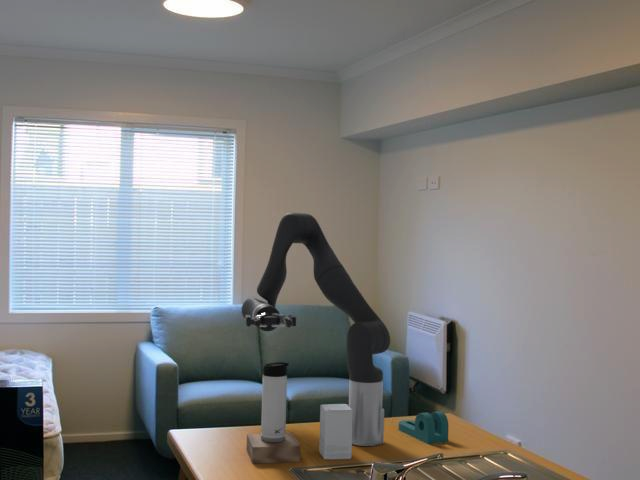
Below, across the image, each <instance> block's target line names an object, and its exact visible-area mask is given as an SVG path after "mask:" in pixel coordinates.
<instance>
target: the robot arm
mask: <svg viewBox="0 0 640 480" xmlns="http://www.w3.org/2000/svg"><path fill="white" fill-rule="evenodd" d="M278 223H279V224H278V225H277V230H276V233H275V237H274V240H273V244H272V247H271V252H270V255H269V259H268V262H267V265H266V268H265V269H264V272H263V274H262V276H261V278H260V280H259V283H258V285H257V287H256V294H257V295H259V297H261V298H262V299H263V300H262V299H258V298H255V297H248V298H246V299H245V300H244V302H243V303H242V306H241V314H242V315H241V316H242V317H243V318H244V319H245V321H244V322H245V323H244V324H245V326H246V327H250V326H252V327H254V328H255V327H256V328H258V329H260V330H261V331H262V332H273V331H274V330H276V329H277V328H285V327H287V328H292V327H296V326H297V316H294V315H292V314H288V315H287V316H286V314H281V313H280V311H279V310H278V309H277V308H276V305H277V300H278V297H279V295H280V292H281V290H282V288H283V286H284V284H285V282H286V279H287V256H288V252H289V251H290V249H291V246H292V245H293V244H302V245H304V246H305V248H306V249H307V251H309V253H310V255H311V257H312V261H313V278H314V280H315V283H316V285H317V286H318V289H319V290H320V291H321V293H322V295H323V296H324V297H325V299H327V301H328V302H330V303H331V304H333V306H335V307H336V308H337V309H339V310H340V311H342V312H343V313H345V315H347V316H348V317H349V318H350V319H351V320H352V322H353V324H351V326H349V329H348V330H347V334H346V367H347V370H348V373H349V375H348V376H349V382H348V383H349V385H348V406H349V407H350V408H351V409H352V410H353V413H352V445H355V446H358V447H359V446H360V447H361V446H362V447H374V446H378V445H383V444H384V443H385V441H384V439H385V409H384V408H383V392H384V391H383V390H384V389H383V388H384V387H383V385H384V384H383V382H384V372H383V369H381V368H379V367H378V366H375V365H374V359H373V355H378V354H381V353H385V352H386V351H387V350H388V349H389V347H390V345H391V336H390V332H389V330H388V327H387V326H386V325H385V322H383V321H382V319H381V317H379V316H378V315H377V313H376V312H375V311H374V310H373V309H372V307H371V306H370V305H369V303H368V302H367V301H366V299H365V297H364V296H363V294H362V292H360V290H359V289H358V288H357V286H356V285H355V283H354V281H353V280H352V278H351V276H350V274H349V273H348V271H347V270H346V268H345V266H343V264H342V263H341V261H340V260H339V258H338V257H337V255H336V254H335V251H334V250H333V248H332V247H331V245H330V244H329V241H328V240H327V238H326V236H325V234H324V232H323V230H322V228H321V226H320V223H319V222H318V220H317V219H316V218H315V217H314V216H313V215H312V214H309V213H302V212H287V213H286V214H284V215H283V216H282V217H281V219H280V221H279V222H278ZM264 300H265V301H264ZM266 301H267V302H266Z"/></svg>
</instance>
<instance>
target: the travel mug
mask: <svg viewBox="0 0 640 480" xmlns="http://www.w3.org/2000/svg"><path fill="white" fill-rule="evenodd" d="M288 366H290V364H289V361H280V362H270V363H265V364H264V365H262V390H261V391H262V392H261V422H260V425H261V426H260V427H261V428H260V434H261V440H262V441H264V442H270V443H277V442H282V441H284V440H285V433H286V428H287V427H286V425H287V424H286V423H287V420H286V419H287V394H288V393H287V391H288V372H287V371H288Z"/></svg>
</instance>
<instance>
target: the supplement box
mask: <svg viewBox="0 0 640 480" xmlns="http://www.w3.org/2000/svg"><path fill="white" fill-rule="evenodd" d="M319 407H320V412H319V444H318V445H319V446H318V448H319V449H318V451H319V453H320V455H321V457H322V458H323V460H351V459H352V450H353V449H352V448H353V444H352V413H353V410H352V409H351V408H350V407H349V404H347V403H332V404H331V403H329V404H320V406H319Z"/></svg>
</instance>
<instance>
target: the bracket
mask: <svg viewBox="0 0 640 480" xmlns="http://www.w3.org/2000/svg"><path fill="white" fill-rule="evenodd" d="M398 431H400V432H401V433H404V434H406V435H407V436H409V437H412V438H414V439H416V440H418V441H420V442H423V443H425V444H427V445H432V444H440V443H442V444H443V443H449V419H448V417H447V415H446V414H445V412H444V411H441V410H440V411H432V412H431V413H429V412H421V413H420V412H419V413H417V415H416V416H415V419H414V420H413V419H404V420H399V421H398Z"/></svg>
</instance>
